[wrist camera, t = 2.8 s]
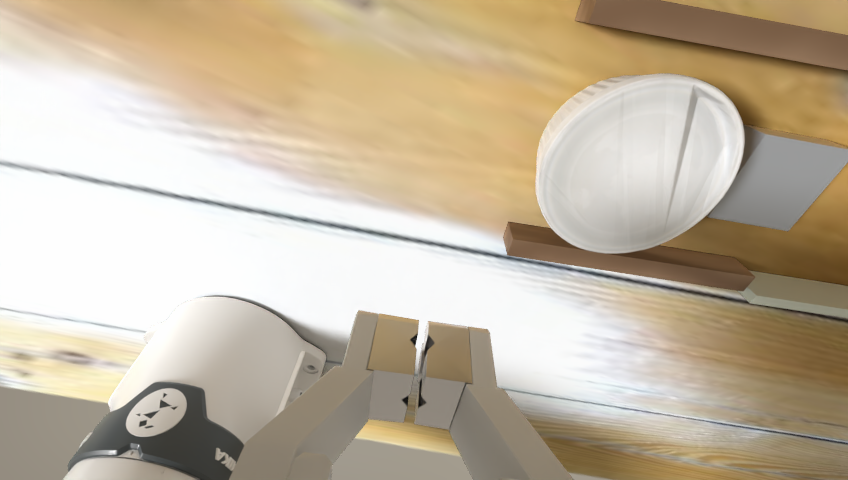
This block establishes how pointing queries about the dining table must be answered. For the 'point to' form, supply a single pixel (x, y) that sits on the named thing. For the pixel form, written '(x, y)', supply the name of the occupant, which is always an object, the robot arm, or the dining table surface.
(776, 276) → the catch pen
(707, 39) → the runway rails
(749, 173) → the slate tile
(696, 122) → the ramekin
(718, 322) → the dining table surface
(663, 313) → the dining table surface
